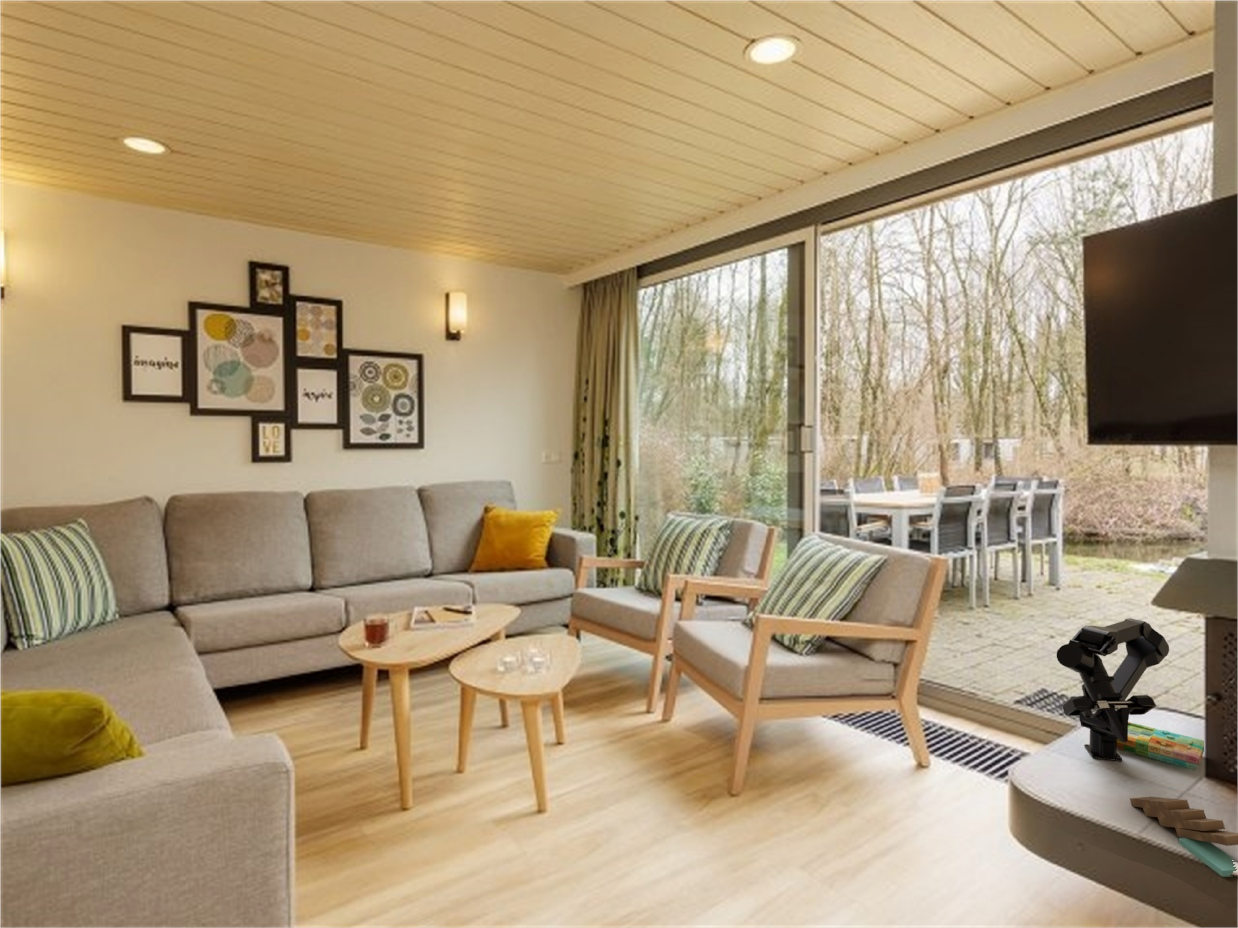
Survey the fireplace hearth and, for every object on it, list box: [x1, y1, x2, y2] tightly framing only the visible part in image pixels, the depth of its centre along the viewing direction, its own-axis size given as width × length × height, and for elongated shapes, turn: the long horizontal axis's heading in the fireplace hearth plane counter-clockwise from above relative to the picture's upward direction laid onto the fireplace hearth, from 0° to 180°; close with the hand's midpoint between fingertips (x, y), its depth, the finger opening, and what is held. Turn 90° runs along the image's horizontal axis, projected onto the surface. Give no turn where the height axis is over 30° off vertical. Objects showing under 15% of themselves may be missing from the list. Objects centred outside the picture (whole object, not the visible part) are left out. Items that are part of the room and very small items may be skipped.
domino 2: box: [1142, 807, 1207, 820], centre depth 146 cm, size 2×5×10 cm
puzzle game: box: [1117, 721, 1205, 771], centre depth 177 cm, size 12×5×20 cm
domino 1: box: [1129, 796, 1190, 810], centre depth 150 cm, size 2×5×10 cm
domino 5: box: [1178, 837, 1237, 878], centre depth 136 cm, size 2×5×10 cm
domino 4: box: [1174, 827, 1238, 847], centre depth 139 cm, size 2×5×10 cm
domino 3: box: [1157, 817, 1226, 831], centre depth 142 cm, size 2×5×10 cm
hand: (1125, 742), depth 159 cm, fingers closed
